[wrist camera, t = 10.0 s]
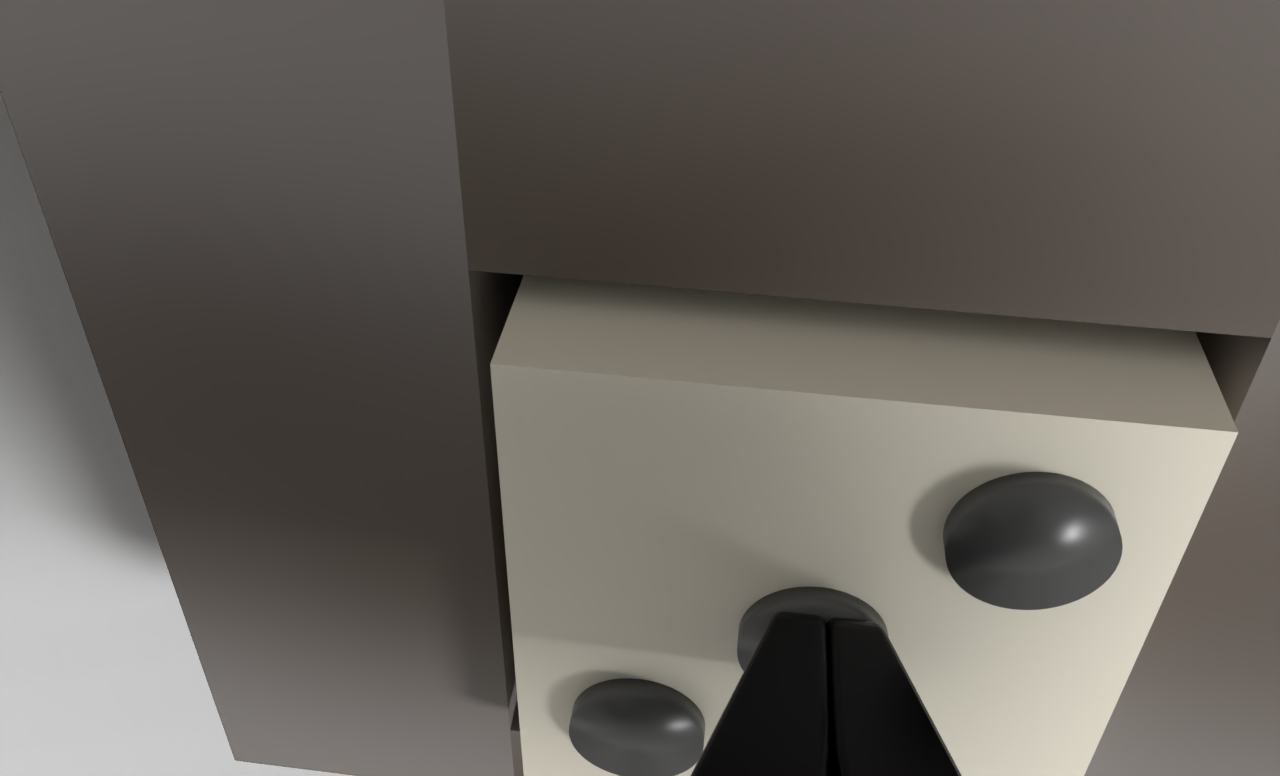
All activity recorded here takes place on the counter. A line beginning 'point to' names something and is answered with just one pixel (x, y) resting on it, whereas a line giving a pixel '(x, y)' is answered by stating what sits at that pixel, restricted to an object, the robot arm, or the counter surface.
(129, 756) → the counter surface
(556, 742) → the tile three
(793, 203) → the tile board
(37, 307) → the counter surface
